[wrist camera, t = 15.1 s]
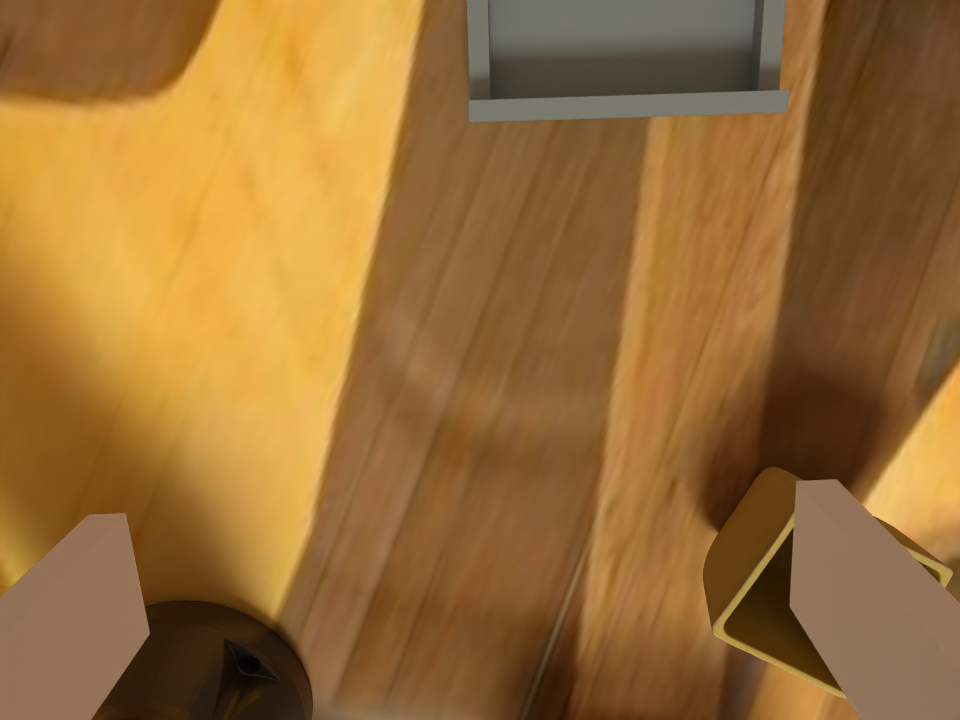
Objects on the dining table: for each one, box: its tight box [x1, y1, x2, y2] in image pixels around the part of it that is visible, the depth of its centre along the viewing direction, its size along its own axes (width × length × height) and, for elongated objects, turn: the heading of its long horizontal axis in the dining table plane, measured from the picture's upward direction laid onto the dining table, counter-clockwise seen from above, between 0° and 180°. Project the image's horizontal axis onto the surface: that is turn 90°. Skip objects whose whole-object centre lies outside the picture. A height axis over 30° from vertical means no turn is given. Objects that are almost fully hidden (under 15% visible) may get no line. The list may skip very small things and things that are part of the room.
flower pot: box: [703, 467, 953, 699], centre depth 44 cm, size 9×9×9 cm
